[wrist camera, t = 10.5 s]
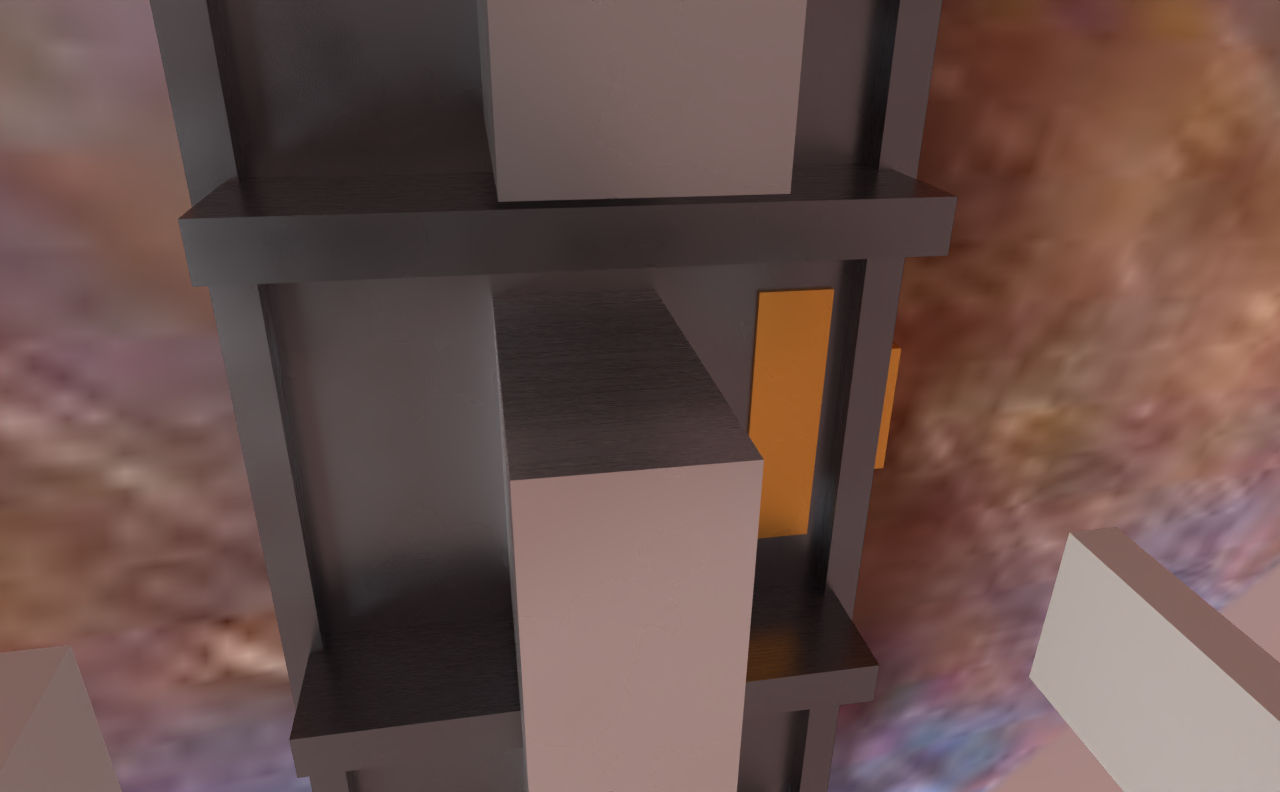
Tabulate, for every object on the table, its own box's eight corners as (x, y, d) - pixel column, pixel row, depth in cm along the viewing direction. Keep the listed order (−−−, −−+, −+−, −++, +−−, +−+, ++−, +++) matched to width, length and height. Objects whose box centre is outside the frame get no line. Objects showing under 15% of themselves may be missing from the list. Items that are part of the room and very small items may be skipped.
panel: (492, 297, 17) (510, 480, 10) (655, 289, 17) (763, 459, 11) (511, 591, 20) (534, 871, 13) (649, 577, 20) (732, 839, 14)
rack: (71, -589, 12) (-572, -1539, 4) (992, -481, 14) (1564, -989, 7) (357, 913, 25) (314, 1298, 18) (809, 840, 27) (936, 1153, 20)
